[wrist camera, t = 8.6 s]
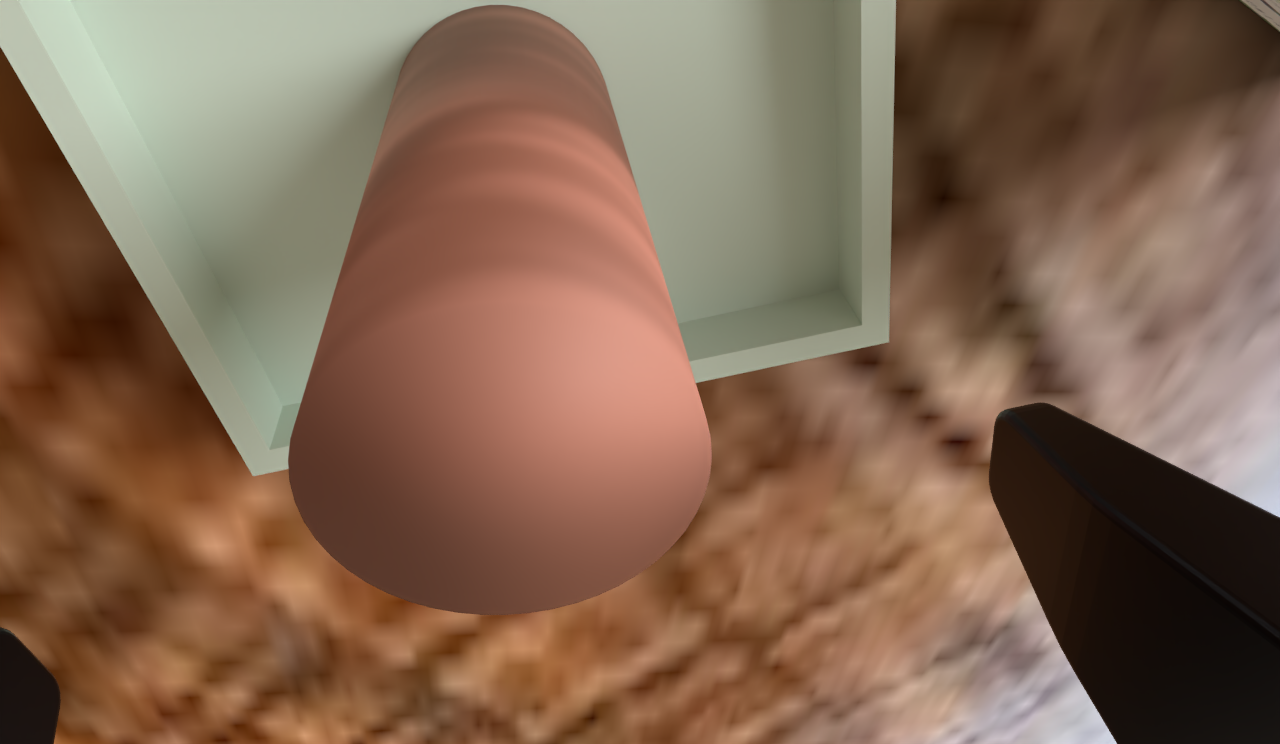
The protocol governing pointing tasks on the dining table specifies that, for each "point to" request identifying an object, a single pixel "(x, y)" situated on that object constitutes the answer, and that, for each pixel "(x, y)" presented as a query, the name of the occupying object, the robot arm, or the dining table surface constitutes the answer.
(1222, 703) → the robot arm
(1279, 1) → the syrup box
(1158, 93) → the dining table surface
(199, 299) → the tray
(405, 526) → the dowel pin
